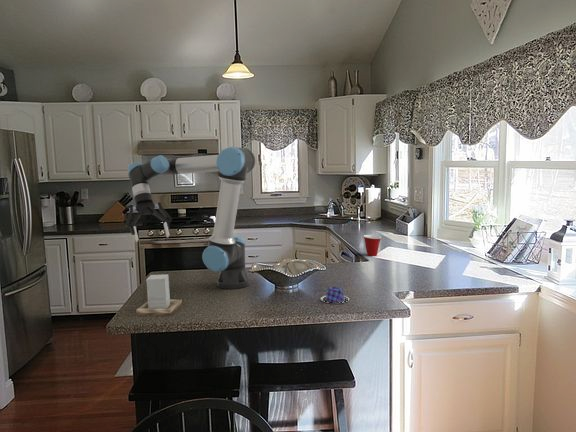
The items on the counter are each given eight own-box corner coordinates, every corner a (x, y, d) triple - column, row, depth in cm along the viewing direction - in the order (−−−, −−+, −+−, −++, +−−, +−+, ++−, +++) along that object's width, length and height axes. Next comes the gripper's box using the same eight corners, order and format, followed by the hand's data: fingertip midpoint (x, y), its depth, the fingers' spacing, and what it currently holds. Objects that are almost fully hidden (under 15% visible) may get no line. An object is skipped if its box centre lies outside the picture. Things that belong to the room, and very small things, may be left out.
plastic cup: (381, 257, 277) (381, 237, 276) (363, 257, 279) (363, 237, 278) (381, 253, 288) (381, 234, 286) (363, 253, 290) (363, 234, 289)
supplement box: (170, 304, 191) (169, 273, 189) (166, 310, 184) (165, 278, 182) (152, 304, 191) (150, 274, 189) (147, 310, 183) (145, 279, 182)
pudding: (355, 301, 194) (355, 288, 193) (333, 306, 187) (333, 294, 187) (336, 294, 204) (336, 283, 203) (314, 299, 197) (314, 287, 196)
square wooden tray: (182, 304, 193) (182, 299, 193) (170, 315, 180) (170, 310, 179) (150, 303, 195) (150, 299, 195) (135, 314, 181) (135, 309, 181)
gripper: (167, 196, 222) (178, 237, 215) (112, 202, 209) (122, 246, 203) (171, 189, 215) (182, 231, 209) (114, 194, 203) (124, 240, 197)
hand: (153, 238), depth 206 cm, fingers open, 13 cm apart
